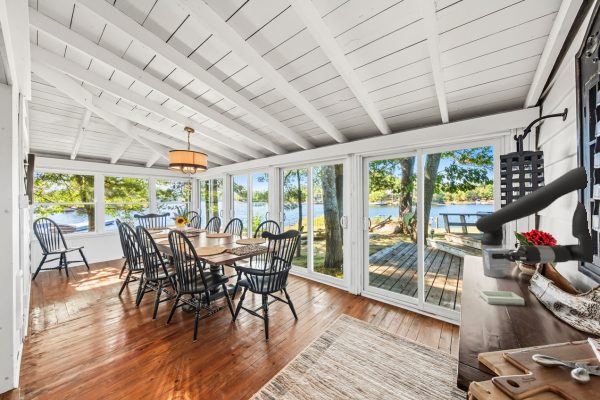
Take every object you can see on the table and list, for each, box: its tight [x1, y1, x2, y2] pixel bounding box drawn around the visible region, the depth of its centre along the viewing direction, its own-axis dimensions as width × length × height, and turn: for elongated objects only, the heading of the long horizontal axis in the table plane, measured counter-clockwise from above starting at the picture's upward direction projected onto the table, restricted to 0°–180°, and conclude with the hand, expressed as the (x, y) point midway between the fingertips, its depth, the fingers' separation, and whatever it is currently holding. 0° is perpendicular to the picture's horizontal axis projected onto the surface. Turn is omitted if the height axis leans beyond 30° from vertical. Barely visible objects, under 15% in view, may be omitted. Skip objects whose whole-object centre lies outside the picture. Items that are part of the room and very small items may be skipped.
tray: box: [478, 290, 525, 306], centre depth 99 cm, size 8×12×2 cm
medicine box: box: [484, 247, 512, 271], centre depth 105 cm, size 8×4×9 cm, turn 72°
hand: (489, 255), depth 106 cm, fingers closed on medicine box, 4 cm apart
